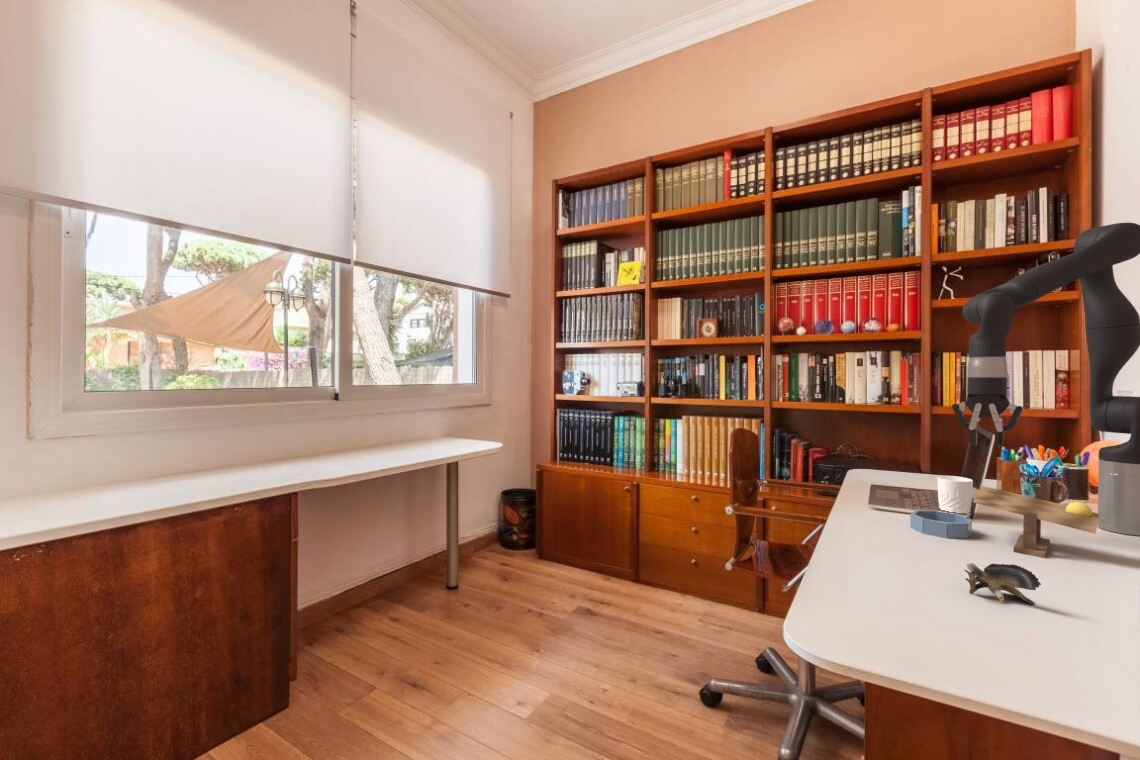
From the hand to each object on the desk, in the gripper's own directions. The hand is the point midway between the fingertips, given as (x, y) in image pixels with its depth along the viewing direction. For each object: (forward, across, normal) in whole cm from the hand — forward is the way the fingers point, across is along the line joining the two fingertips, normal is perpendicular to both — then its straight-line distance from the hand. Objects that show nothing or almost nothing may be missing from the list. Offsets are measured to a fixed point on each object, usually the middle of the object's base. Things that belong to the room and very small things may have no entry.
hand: (986, 445), depth 124 cm
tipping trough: (+14, +9, -3) cm, 17 cm away
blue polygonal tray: (+21, -8, -6) cm, 24 cm away
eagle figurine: (+22, +8, -45) cm, 51 cm away
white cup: (+21, -8, +14) cm, 27 cm away
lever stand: (+21, +9, -6) cm, 24 cm away
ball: (+12, +16, -6) cm, 21 cm away
